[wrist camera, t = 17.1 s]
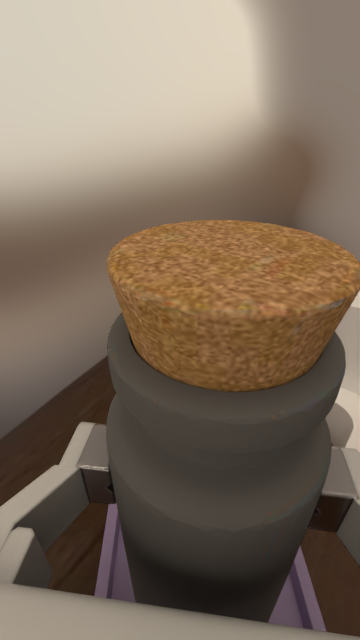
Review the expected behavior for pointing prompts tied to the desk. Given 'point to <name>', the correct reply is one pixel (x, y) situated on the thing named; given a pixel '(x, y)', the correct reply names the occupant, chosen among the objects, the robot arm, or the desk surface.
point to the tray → (290, 610)
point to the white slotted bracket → (348, 384)
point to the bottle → (222, 405)
